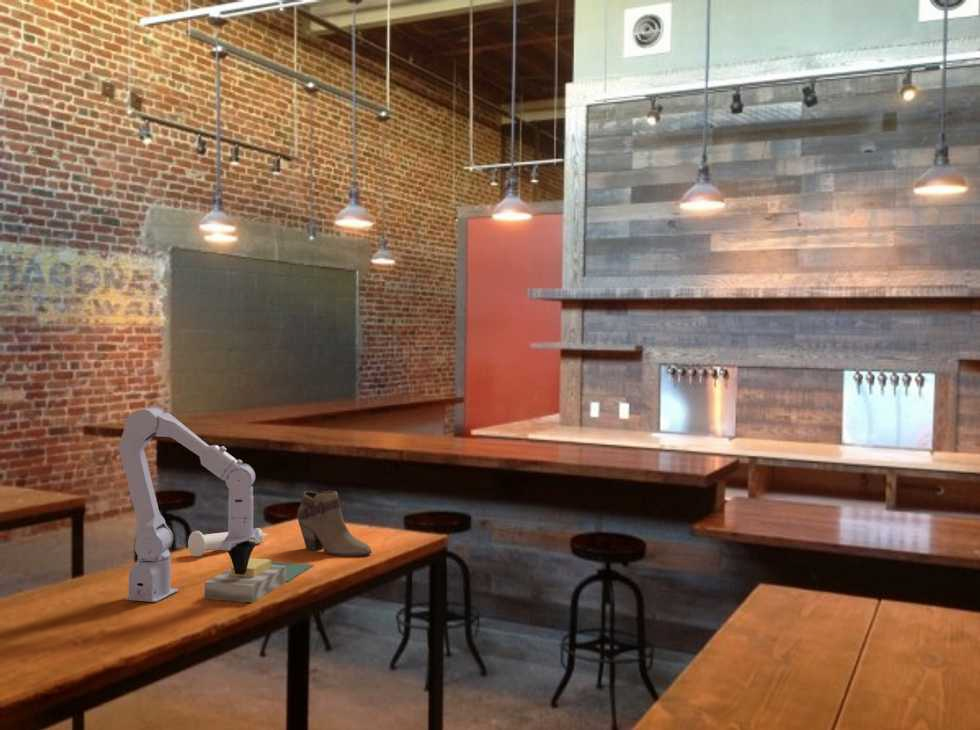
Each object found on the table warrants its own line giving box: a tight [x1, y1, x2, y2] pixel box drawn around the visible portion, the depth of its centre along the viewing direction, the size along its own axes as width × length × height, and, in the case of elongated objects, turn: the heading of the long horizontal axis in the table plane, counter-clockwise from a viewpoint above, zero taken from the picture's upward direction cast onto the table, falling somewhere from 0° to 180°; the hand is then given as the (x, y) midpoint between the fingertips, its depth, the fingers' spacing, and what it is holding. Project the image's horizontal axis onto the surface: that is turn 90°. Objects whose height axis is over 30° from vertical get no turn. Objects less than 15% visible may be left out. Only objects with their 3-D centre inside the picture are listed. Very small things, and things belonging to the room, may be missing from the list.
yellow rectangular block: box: [230, 557, 272, 577], centre depth 211 cm, size 9×6×2 cm, turn 168°
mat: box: [271, 561, 314, 583], centre depth 225 cm, size 16×13×1 cm
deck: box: [204, 565, 287, 604], centre depth 209 cm, size 18×12×4 cm, turn 169°
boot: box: [296, 490, 372, 557], centre depth 247 cm, size 8×24×17 cm, turn 72°
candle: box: [187, 527, 268, 558], centre depth 249 cm, size 7×7×25 cm
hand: (240, 573), depth 205 cm, fingers closed
